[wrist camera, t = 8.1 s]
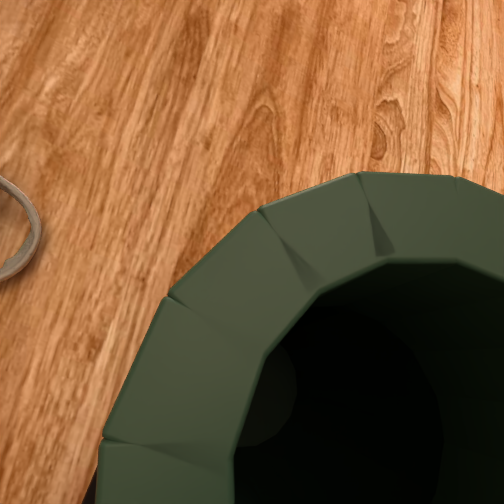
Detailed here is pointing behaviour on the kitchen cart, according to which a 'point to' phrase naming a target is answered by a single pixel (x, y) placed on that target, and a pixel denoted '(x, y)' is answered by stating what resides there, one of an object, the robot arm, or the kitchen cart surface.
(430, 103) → the kitchen cart surface
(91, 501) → the robot arm
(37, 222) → the ceramic mug
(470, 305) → the hollow cylinder
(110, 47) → the kitchen cart surface
